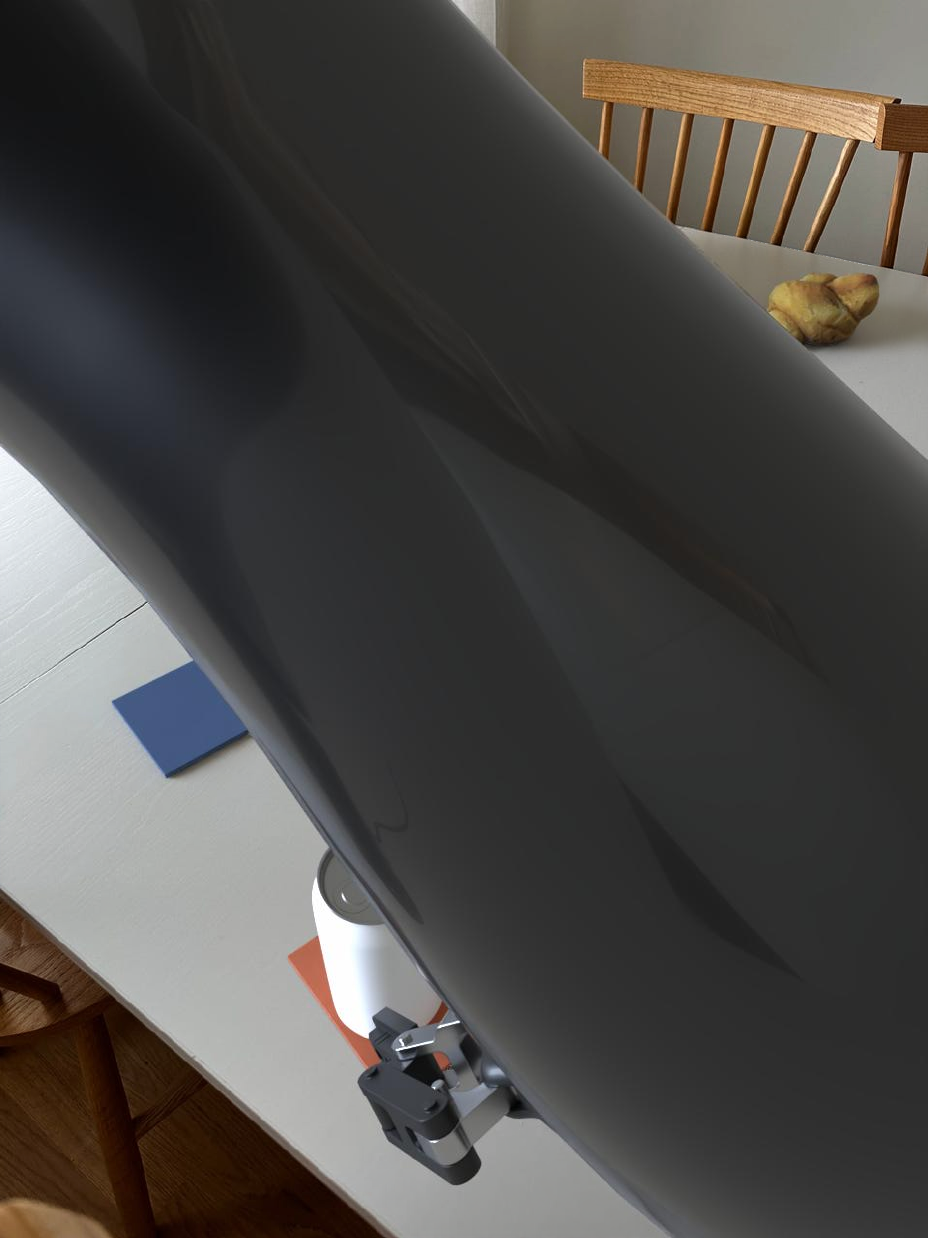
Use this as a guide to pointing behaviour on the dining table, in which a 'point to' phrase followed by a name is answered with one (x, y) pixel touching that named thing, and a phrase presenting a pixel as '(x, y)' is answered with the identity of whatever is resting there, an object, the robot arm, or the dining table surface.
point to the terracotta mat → (316, 979)
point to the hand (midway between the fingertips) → (466, 972)
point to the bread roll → (824, 306)
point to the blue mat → (179, 718)
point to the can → (364, 955)
